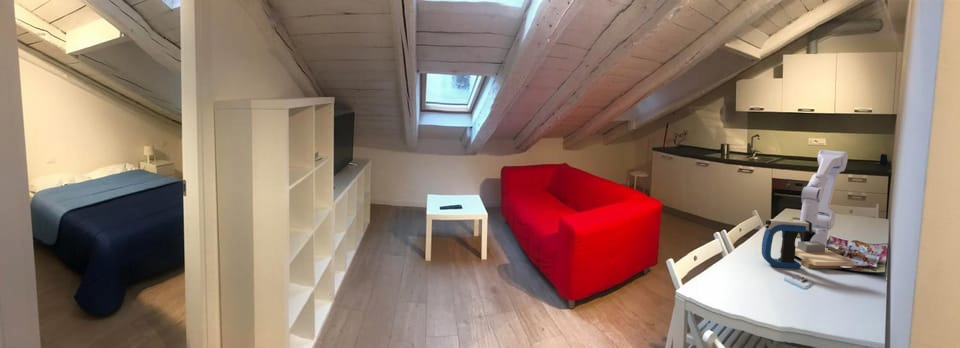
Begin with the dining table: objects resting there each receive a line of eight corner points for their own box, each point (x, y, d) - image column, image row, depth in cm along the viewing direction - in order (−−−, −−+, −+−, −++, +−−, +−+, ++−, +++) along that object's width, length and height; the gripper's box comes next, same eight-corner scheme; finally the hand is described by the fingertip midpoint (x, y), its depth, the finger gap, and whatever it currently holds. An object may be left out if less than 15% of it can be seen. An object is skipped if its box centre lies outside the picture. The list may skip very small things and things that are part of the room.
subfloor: (777, 252, 199) (779, 244, 198) (818, 252, 199) (819, 244, 199) (811, 270, 179) (813, 261, 179) (856, 270, 180) (858, 262, 179)
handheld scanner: (807, 270, 179) (814, 222, 176) (763, 266, 182) (769, 220, 179) (802, 266, 183) (808, 220, 180) (758, 263, 186) (764, 217, 183)
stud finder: (797, 248, 194) (798, 240, 194) (815, 248, 194) (816, 240, 194) (805, 252, 189) (806, 244, 189) (824, 252, 190) (825, 244, 189)
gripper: (788, 209, 200) (784, 239, 202) (812, 219, 186) (807, 250, 188) (804, 210, 200) (799, 239, 203) (829, 219, 186) (824, 251, 188)
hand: (804, 245), depth 195 cm, fingers closed
